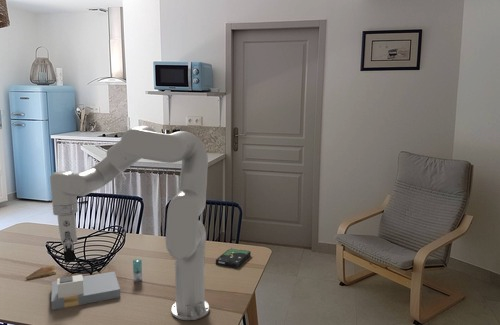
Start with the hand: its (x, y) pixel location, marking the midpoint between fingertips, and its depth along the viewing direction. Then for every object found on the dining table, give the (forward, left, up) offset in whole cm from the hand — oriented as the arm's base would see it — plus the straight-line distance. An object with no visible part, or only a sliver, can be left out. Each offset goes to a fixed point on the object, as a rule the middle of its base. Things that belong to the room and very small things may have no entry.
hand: (69, 256), depth 140 cm
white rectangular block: (0, 0, -13) cm, 13 cm away
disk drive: (+11, -65, -17) cm, 68 cm away
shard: (+27, +9, -17) cm, 33 cm away
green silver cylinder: (+7, -24, -16) cm, 30 cm away
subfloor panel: (+4, -5, -16) cm, 17 cm away
